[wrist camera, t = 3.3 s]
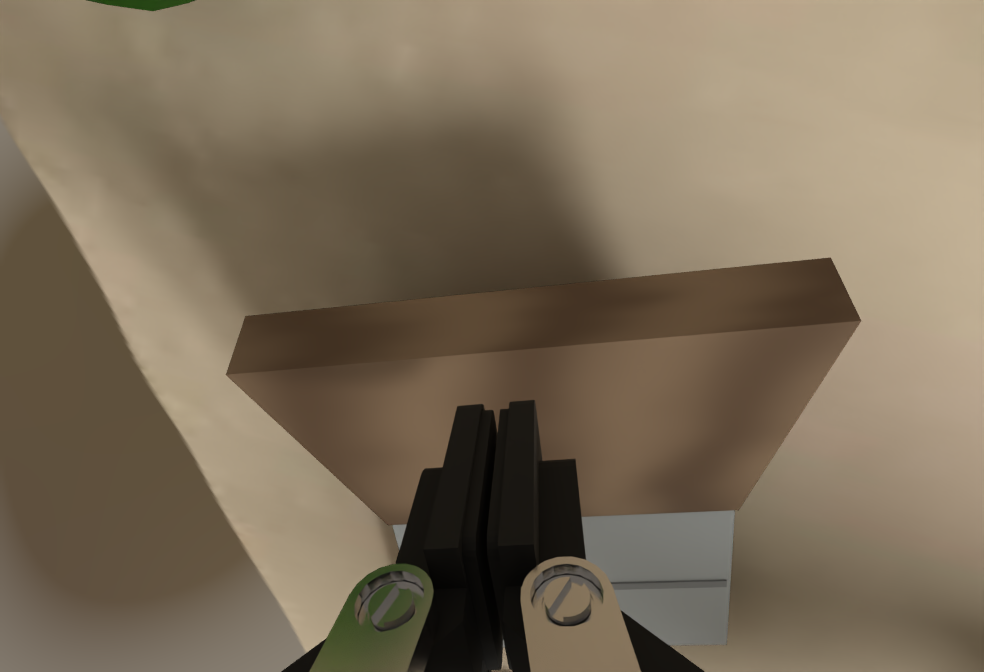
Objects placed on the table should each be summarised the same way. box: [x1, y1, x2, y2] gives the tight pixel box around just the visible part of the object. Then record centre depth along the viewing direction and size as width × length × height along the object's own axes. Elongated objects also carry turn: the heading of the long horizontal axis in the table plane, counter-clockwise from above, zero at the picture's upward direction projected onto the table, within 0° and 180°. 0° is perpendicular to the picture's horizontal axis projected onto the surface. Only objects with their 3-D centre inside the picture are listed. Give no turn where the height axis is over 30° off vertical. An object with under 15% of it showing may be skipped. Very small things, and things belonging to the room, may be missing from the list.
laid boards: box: [392, 510, 735, 647], centre depth 28 cm, size 16×9×2 cm, turn 98°
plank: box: [226, 258, 861, 525], centre depth 20 cm, size 16×14×2 cm
